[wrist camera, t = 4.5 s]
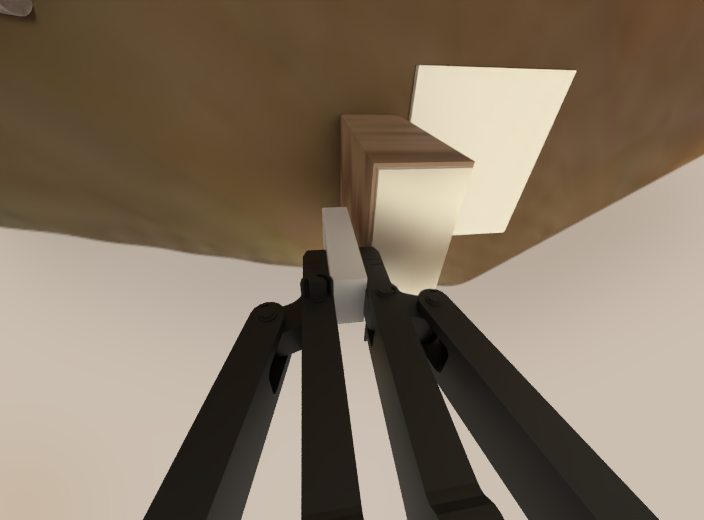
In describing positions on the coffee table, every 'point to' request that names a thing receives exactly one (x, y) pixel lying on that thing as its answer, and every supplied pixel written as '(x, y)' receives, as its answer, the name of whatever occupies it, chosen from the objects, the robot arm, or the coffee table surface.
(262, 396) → the robot arm
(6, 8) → the rubber mallet
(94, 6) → the coffee table surface
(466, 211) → the felt mat
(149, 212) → the coffee table surface
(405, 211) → the wooden block
